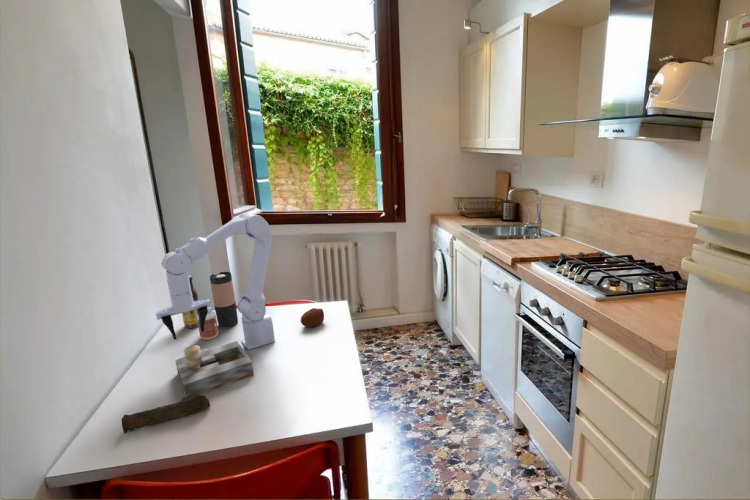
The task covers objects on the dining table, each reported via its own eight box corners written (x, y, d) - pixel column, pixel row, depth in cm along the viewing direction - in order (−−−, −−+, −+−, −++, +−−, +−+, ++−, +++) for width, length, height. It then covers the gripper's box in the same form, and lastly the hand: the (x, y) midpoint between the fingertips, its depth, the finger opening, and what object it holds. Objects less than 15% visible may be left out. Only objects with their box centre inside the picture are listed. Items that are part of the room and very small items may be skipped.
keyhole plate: (238, 353, 123) (236, 340, 122) (253, 375, 110) (251, 361, 109) (177, 373, 114) (175, 359, 112) (186, 399, 101) (183, 384, 100)
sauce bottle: (180, 328, 144) (171, 279, 139) (192, 321, 150) (183, 273, 145) (195, 329, 143) (186, 279, 138) (206, 322, 149) (197, 274, 144)
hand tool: (122, 437, 88) (118, 420, 87) (126, 426, 92) (122, 409, 91) (209, 415, 94) (206, 399, 93) (210, 405, 98) (207, 390, 97)
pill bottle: (220, 336, 136) (215, 308, 133) (202, 342, 133) (196, 312, 130) (216, 330, 141) (212, 302, 138) (199, 335, 138) (193, 307, 135)
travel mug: (234, 328, 142) (226, 277, 137) (214, 329, 142) (205, 278, 137) (241, 319, 149) (234, 271, 144) (222, 320, 150) (214, 272, 145)
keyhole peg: (204, 370, 113) (199, 342, 110) (208, 377, 109) (203, 349, 106) (186, 376, 110) (180, 348, 108) (189, 384, 106) (183, 355, 104)
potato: (328, 325, 140) (327, 309, 138) (304, 332, 136) (302, 315, 134) (321, 319, 146) (320, 303, 144) (298, 325, 142) (296, 309, 140)
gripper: (204, 283, 119) (211, 323, 122) (151, 294, 111) (160, 336, 115) (208, 289, 113) (216, 330, 117) (153, 301, 106) (163, 345, 109)
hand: (188, 334), depth 115 cm, fingers open, 7 cm apart
